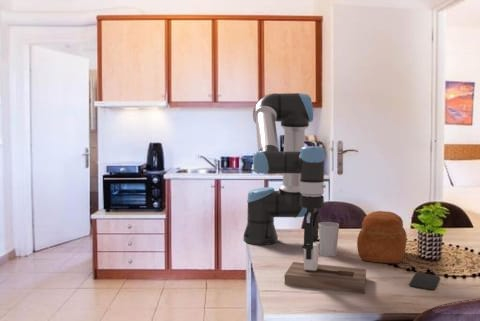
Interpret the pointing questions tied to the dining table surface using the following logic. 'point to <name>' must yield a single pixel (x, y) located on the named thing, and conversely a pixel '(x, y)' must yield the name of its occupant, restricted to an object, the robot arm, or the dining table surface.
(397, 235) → the bread
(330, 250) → the cup
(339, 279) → the keyhole board
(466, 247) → the dining table surface
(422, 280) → the phone
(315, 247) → the keyhole peg
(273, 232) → the robot arm
